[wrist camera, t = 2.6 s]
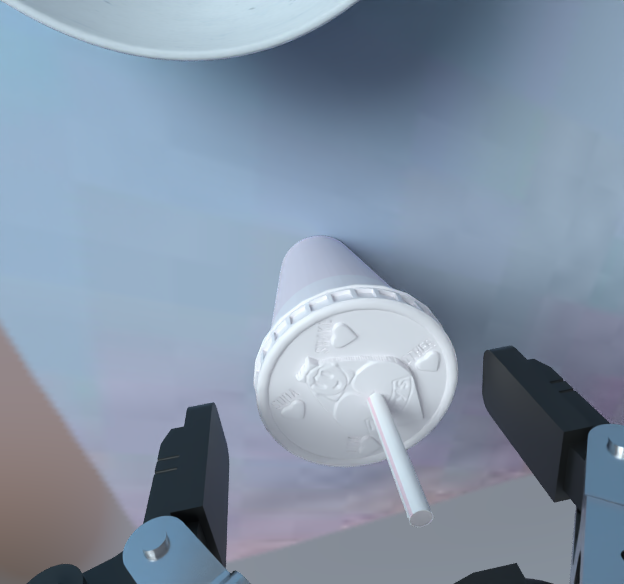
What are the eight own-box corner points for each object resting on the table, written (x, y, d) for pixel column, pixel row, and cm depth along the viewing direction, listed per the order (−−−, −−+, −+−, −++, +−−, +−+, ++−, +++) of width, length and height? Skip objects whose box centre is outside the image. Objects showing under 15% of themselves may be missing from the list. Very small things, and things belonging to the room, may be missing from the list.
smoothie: (341, 345, 25) (434, 623, 12) (230, 299, 23) (205, 572, 10) (406, 243, 23) (598, 451, 10) (290, 182, 21) (351, 346, 8)
